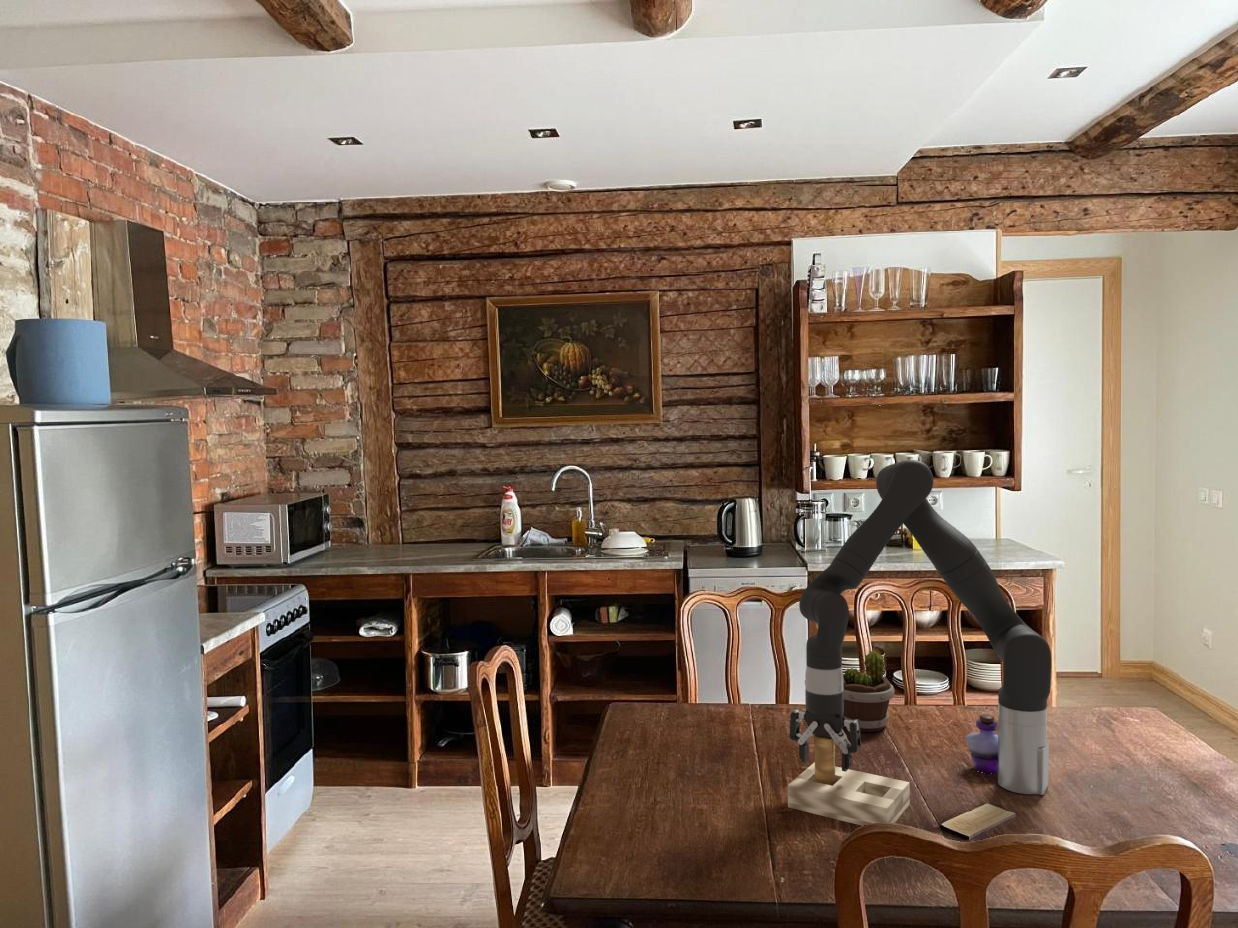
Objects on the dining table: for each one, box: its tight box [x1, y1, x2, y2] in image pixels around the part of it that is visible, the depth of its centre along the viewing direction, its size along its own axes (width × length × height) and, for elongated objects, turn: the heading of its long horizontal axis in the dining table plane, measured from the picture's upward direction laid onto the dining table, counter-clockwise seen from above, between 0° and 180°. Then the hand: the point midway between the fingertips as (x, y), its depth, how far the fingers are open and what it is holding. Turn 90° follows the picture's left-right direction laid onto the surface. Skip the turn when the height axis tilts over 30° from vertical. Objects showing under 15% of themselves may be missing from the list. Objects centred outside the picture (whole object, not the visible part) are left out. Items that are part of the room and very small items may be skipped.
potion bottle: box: [965, 713, 998, 776], centre depth 196 cm, size 9×9×12 cm
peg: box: [813, 734, 836, 786], centre depth 182 cm, size 4×4×12 cm
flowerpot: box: [843, 644, 896, 733], centre depth 224 cm, size 14×15×20 cm
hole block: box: [787, 761, 911, 827], centre depth 180 cm, size 20×14×4 cm
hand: (824, 765), depth 182 cm, fingers open, 8 cm apart
